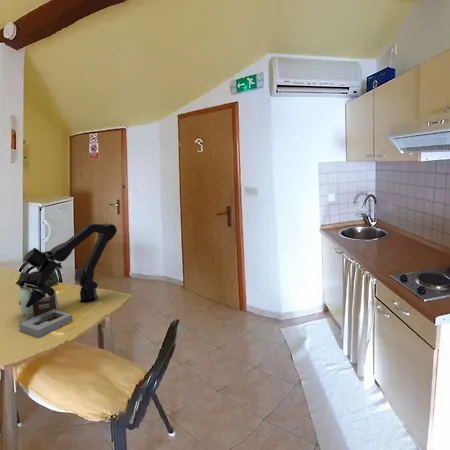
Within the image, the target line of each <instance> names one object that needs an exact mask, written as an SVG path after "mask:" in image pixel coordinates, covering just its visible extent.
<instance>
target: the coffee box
mask: <svg viewBox="0 0 450 450" xmlns="http://www.w3.org/2000/svg"><path fill="white" fill-rule="evenodd" d="M53 289H54V290H55V293H54V295H53V297H52V296H48V294H47V293H46V297H44V298H42V299H40V300H39V301H37V302H36V303H34V304H33V310H34V311H33V312H32V314H33V316H34V317H36V316H39V315H41V314H43V313H46V312H48V311H50V310H53V309H54V310H57V311H58V297H57V296H58V295H57V290H56V288H53Z"/></svg>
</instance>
